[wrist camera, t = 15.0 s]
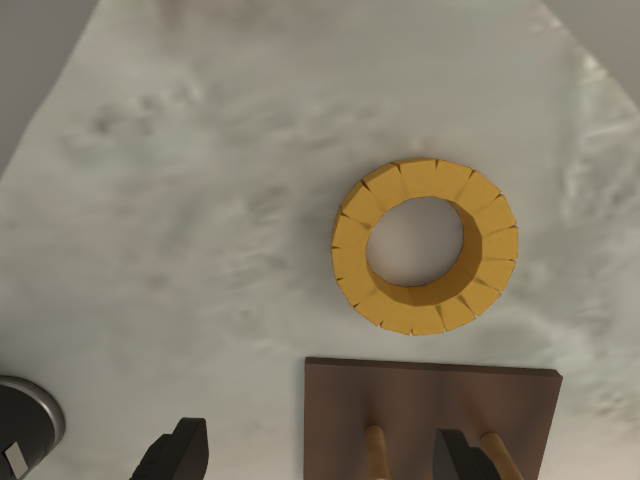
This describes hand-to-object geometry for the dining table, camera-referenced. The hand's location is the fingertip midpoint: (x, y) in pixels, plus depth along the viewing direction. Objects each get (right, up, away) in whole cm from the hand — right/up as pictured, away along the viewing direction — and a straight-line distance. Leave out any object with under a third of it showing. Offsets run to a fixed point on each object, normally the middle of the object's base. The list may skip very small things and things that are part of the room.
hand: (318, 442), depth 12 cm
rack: (+10, -11, +20) cm, 25 cm away
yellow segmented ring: (+8, +7, +15) cm, 19 cm away
